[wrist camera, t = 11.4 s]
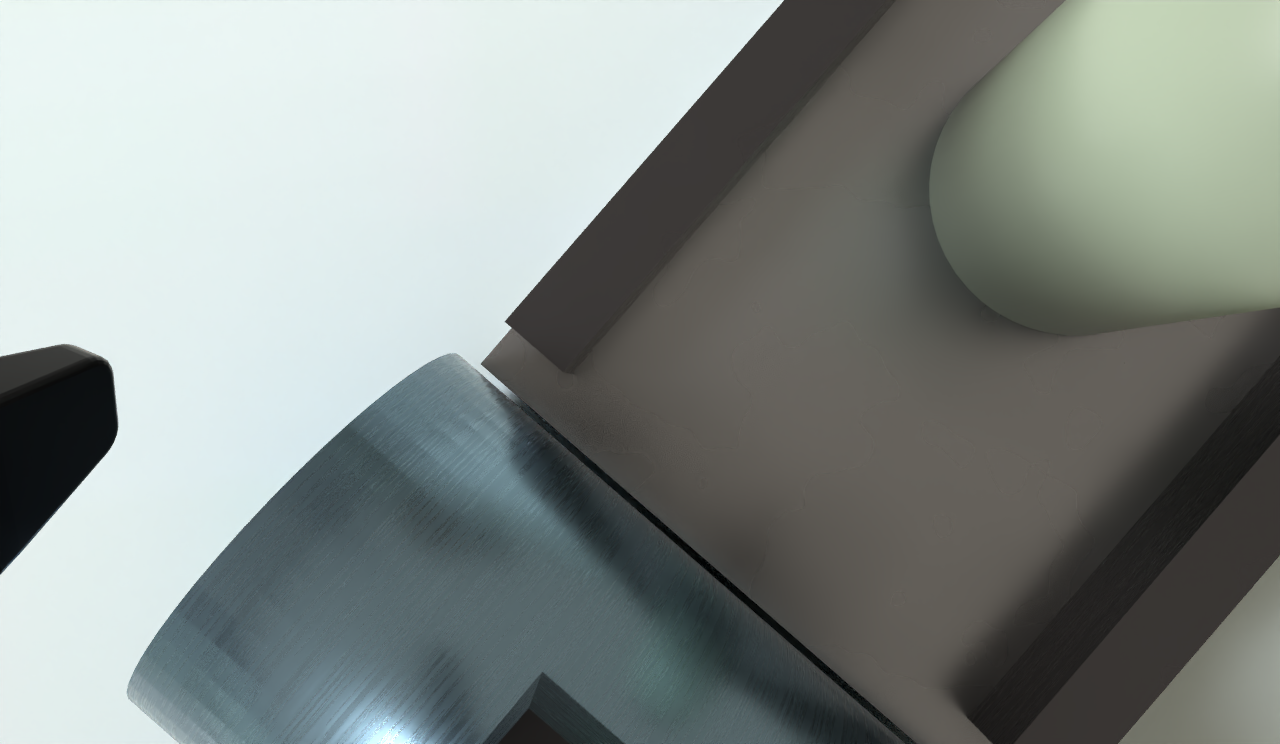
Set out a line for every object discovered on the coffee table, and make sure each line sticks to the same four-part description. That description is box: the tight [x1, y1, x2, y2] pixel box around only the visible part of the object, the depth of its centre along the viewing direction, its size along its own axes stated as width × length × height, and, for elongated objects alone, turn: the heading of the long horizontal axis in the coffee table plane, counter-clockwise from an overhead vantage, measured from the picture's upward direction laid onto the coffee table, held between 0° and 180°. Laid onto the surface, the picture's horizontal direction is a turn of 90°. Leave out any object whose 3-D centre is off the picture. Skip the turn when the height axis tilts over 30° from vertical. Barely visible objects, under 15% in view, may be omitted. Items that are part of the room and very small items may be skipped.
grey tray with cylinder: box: [127, 0, 1280, 744], centre depth 16 cm, size 25×12×8 cm, turn 139°
